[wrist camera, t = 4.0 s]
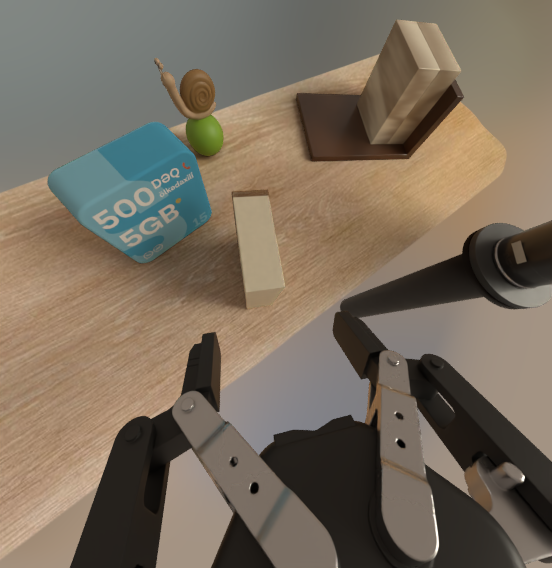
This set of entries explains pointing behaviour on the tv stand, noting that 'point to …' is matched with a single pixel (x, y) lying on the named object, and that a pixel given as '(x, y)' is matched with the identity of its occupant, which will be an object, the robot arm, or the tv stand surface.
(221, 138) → the snail figurine
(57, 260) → the tv stand surface
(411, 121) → the book rack
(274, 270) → the cream book
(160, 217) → the data package
